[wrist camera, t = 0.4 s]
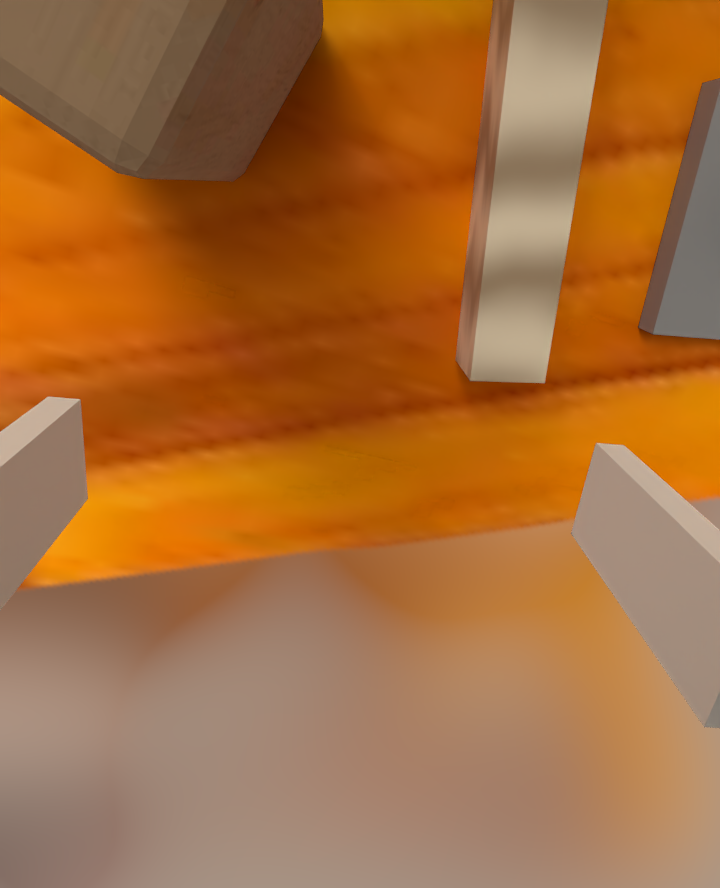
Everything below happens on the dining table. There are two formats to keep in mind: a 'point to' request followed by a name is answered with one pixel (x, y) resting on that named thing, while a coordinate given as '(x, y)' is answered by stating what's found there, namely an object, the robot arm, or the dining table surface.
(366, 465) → the dining table surface
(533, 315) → the batten
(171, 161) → the wooden block
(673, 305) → the fulcrum
